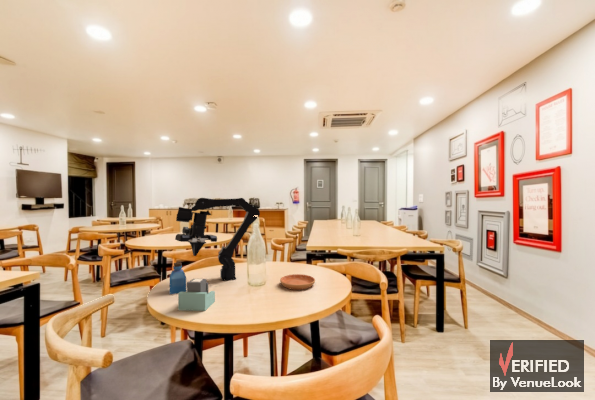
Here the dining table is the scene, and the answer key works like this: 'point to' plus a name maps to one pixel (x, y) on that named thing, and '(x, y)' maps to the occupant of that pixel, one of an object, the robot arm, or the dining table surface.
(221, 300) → the dining table surface
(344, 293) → the dining table surface
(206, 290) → the grey block
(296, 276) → the saucer
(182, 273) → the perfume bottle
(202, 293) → the socket
